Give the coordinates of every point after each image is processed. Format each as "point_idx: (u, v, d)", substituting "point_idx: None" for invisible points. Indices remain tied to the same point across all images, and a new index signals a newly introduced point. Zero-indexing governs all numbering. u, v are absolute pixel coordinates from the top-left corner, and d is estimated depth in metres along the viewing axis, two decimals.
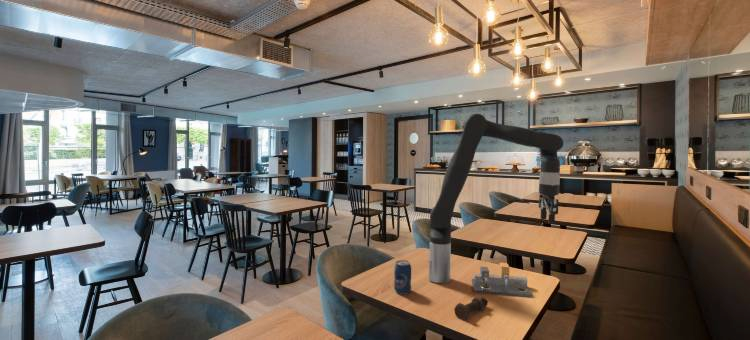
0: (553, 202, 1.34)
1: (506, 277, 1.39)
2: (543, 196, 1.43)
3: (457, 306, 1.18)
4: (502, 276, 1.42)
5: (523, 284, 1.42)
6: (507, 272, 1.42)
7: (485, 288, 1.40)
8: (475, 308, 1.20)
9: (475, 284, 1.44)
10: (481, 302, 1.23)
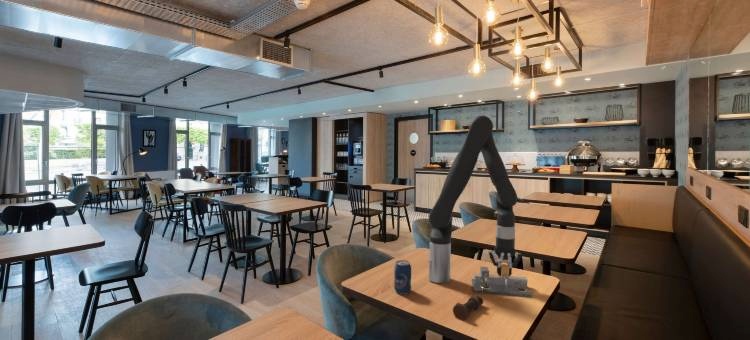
0: None
1: (506, 277, 1.39)
2: (498, 249, 1.43)
3: (456, 306, 1.18)
4: (502, 276, 1.42)
5: (523, 284, 1.42)
6: (507, 272, 1.42)
7: (485, 288, 1.40)
8: (472, 307, 1.21)
9: (475, 284, 1.44)
10: (478, 301, 1.23)
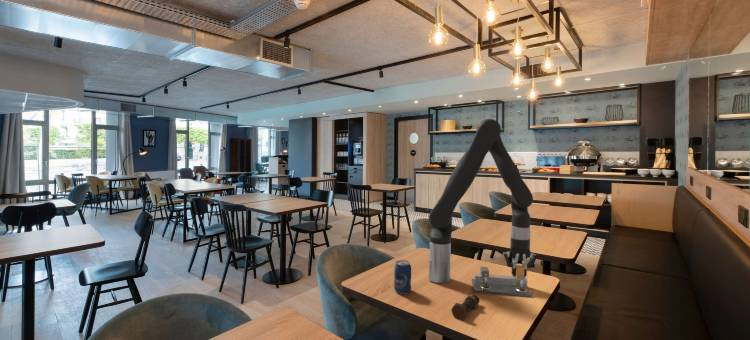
0: None
1: (521, 278, 1.38)
2: (513, 250, 1.42)
3: (455, 306, 1.18)
4: (517, 277, 1.41)
5: (523, 284, 1.42)
6: (522, 273, 1.41)
7: (485, 288, 1.40)
8: (470, 306, 1.22)
9: (475, 284, 1.44)
10: (475, 300, 1.24)
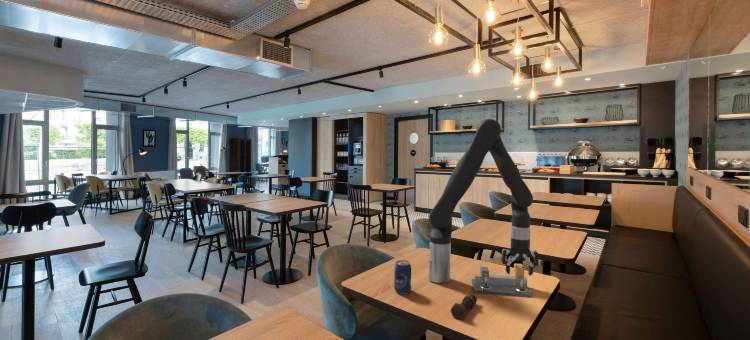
0: None
1: (521, 278, 1.38)
2: (514, 251, 1.42)
3: (454, 306, 1.18)
4: (517, 277, 1.41)
5: (523, 284, 1.42)
6: (522, 273, 1.41)
7: (485, 288, 1.40)
8: (469, 306, 1.22)
9: (475, 284, 1.44)
10: (473, 299, 1.25)
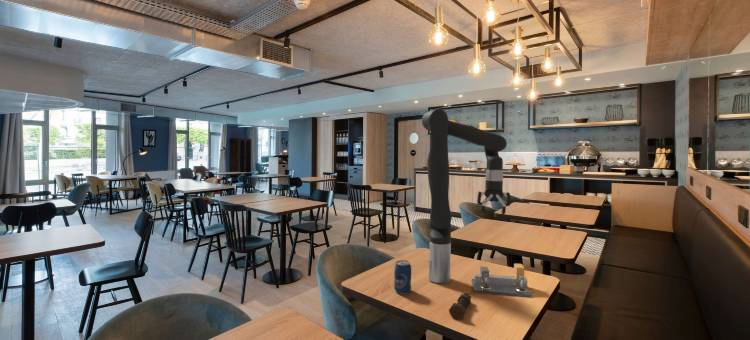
0: None
1: (521, 278, 1.38)
2: (488, 192, 1.55)
3: (452, 306, 1.18)
4: (517, 277, 1.41)
5: (523, 284, 1.42)
6: (522, 273, 1.41)
7: (485, 288, 1.40)
8: (465, 305, 1.22)
9: (475, 284, 1.44)
10: (468, 298, 1.25)
